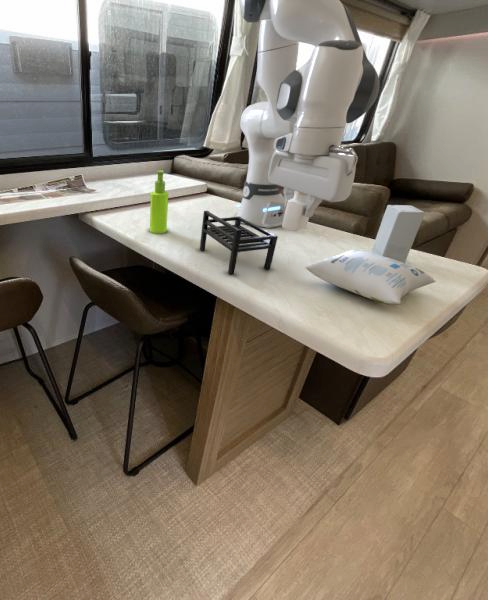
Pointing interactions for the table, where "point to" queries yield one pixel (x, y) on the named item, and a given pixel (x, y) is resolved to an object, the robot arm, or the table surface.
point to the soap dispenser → (159, 206)
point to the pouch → (370, 275)
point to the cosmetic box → (397, 232)
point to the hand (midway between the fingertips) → (297, 212)
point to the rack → (237, 238)
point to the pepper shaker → (296, 212)
